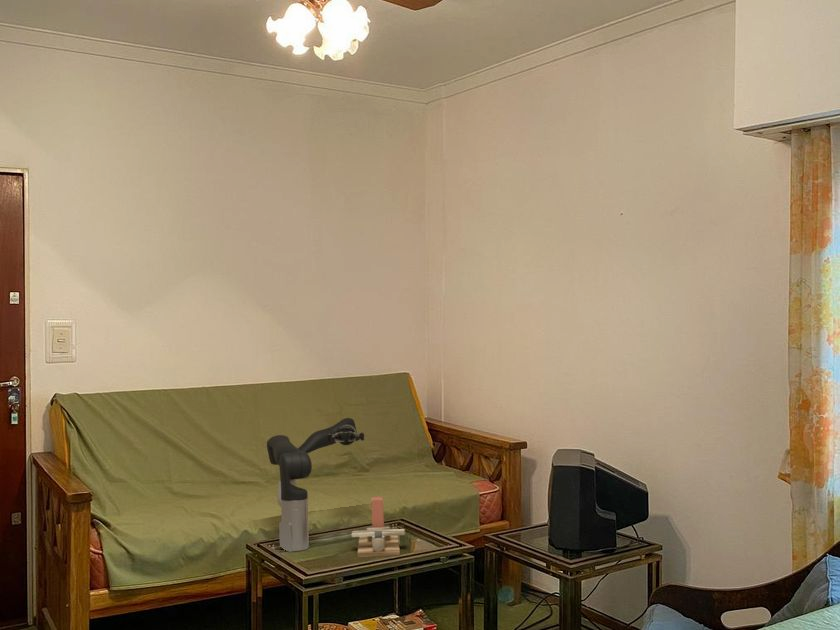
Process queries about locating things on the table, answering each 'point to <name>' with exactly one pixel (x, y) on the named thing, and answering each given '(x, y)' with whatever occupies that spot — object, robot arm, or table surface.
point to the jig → (378, 541)
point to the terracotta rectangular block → (377, 512)
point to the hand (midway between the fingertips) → (345, 438)
